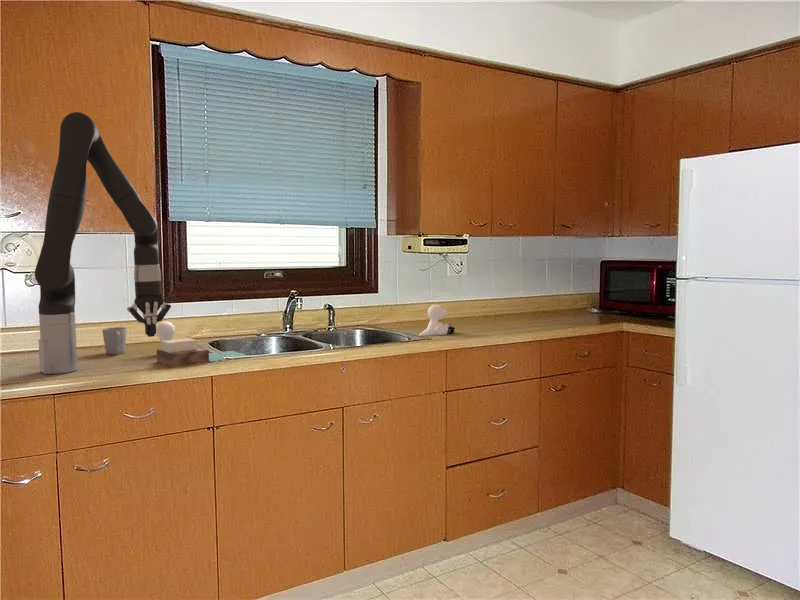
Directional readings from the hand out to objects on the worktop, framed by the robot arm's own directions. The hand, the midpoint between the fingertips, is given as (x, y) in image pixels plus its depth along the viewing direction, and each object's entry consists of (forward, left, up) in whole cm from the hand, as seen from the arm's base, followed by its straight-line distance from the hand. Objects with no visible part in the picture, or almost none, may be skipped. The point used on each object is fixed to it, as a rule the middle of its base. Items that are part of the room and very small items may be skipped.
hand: (151, 336), depth 193 cm
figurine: (+113, -10, -10) cm, 114 cm away
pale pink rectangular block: (+9, 0, -5) cm, 10 cm away
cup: (-1, +30, -10) cm, 32 cm away
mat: (+23, 0, -9) cm, 25 cm away
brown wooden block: (+10, 0, -9) cm, 13 cm away
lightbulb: (+12, +19, -10) cm, 24 cm away
